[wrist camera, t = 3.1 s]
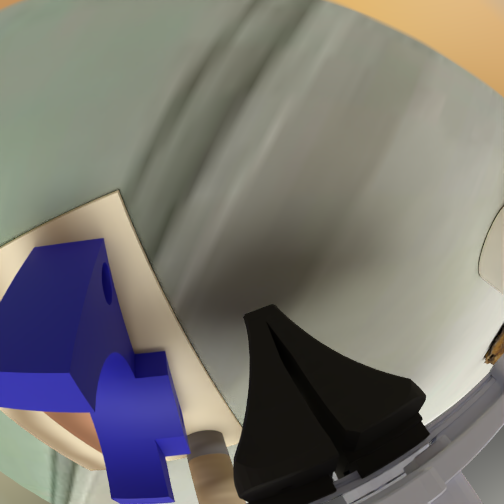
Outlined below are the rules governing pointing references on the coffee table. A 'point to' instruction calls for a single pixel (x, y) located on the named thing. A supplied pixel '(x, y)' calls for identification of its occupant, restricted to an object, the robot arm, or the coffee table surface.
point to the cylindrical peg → (211, 468)
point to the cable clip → (90, 366)
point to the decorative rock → (496, 349)
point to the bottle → (494, 255)
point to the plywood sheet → (137, 324)
